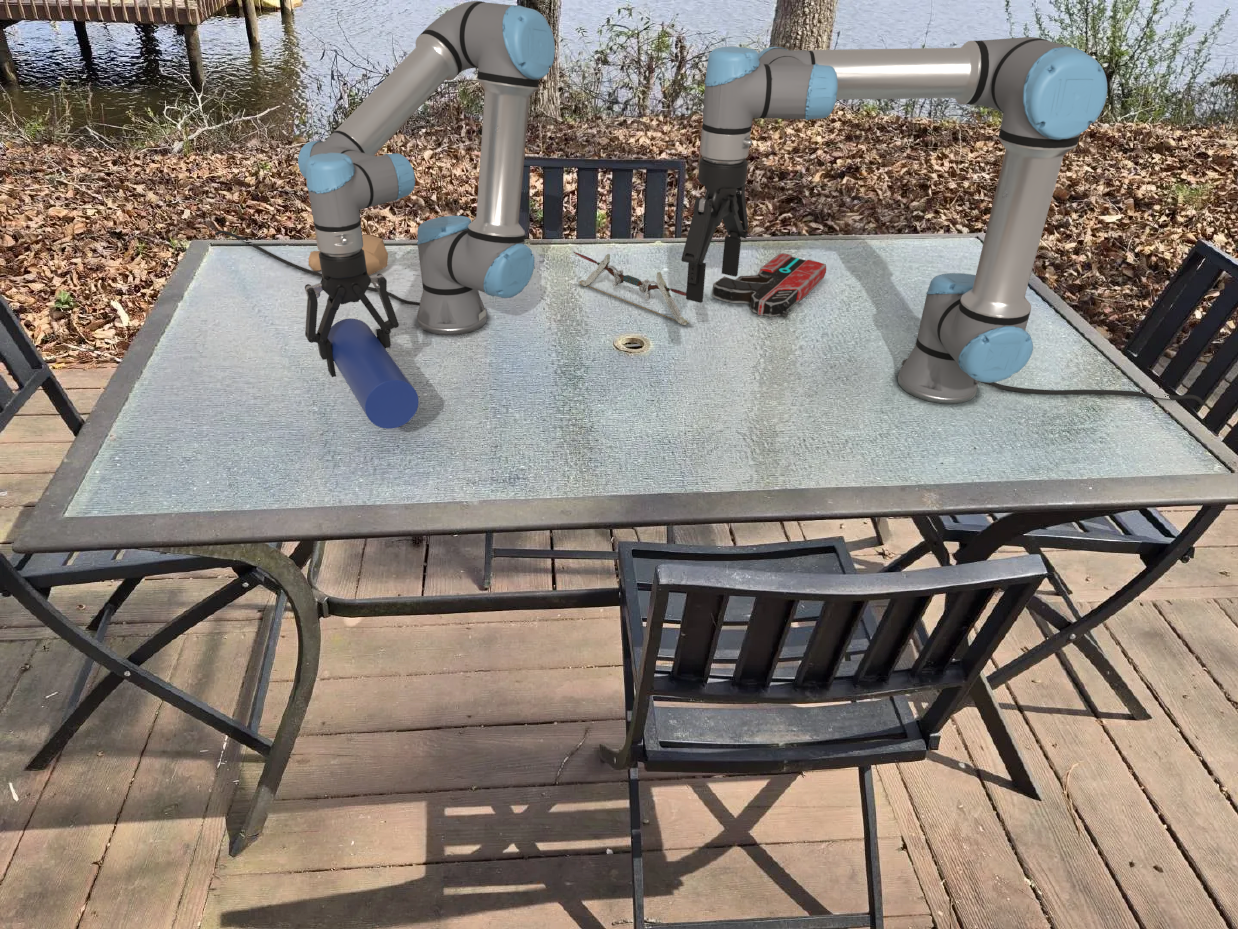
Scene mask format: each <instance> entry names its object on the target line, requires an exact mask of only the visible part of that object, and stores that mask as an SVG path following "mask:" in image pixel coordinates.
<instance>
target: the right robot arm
mask: <svg viewBox="0 0 1238 929" xmlns="http://www.w3.org/2000/svg"><path fill="white" fill-rule="evenodd" d="M1107 80H1108V79H1107V76H1106V73H1105V70H1104V68H1103V67H1102V65H1101V64H1100V63H1099V61H1098V60H1096V59H1095V58H1094V57H1093V56H1091V55H1089V54H1088V53H1086V52H1085V51H1083V50H1081V49H1079V48H1077V47H1071V46H1068V45H1064V44H1061V43H1057V42H1055V41H1050V40H1048V39H1046V38H1041V37H1034V36H1022V37H1010V38H997V39H981V40H980V39H979V40H967V41H965V43H964V44H963V45H961V47H924V48H923V47H921V48H915V47H914V48H861V49H860V48H857V49H856V48H855V49H854V48H853V49H851V48H850V49H849V48H848V49H807V50H806V49H789V50H788V49H786V48H785V47H781V46H769V47H766V48H765V49H762V50H761V51H759V52H758V51H757V50H756V49H754V48H751V47H750V48H749V47H741V46H740V47H739V46H720V47H716V48H714V49H713V50H712V51H710V53H709V54H708V57H707V66H706V73H705V80H704V91H703V92H704V93H703V94H704V95H703V108H702V109H703V110H702V126H701V135H700V147H699V154H700V155H701V158H699V161H698V177H697V180H698V182H699V184H700V185H702V186H704V187H705V194H704V197H695V199H694V206H693V214H692V218H691V221H690V224H689V228H688V232H687V236H686V239H685V240H686V241H685V243H684V248H683V251H682V255H681V262H683V263H688V265H687V277H686V296H685V300H687V301H691V302H695V303H699V304H702V303H703V302H704V292H705V280H706V268H707V263H706V262H704V261H705V258H706V256H707V253H708V250H709V248H710V245H711V242H712V240H713V237H714V235H715V232H716V230H717V227H720V226H721V224H722V222H723V224H724V227H725V229H726V233H727V235H726V236H725V237H724V242H723V255H722V264H721V274H722V275H726V276H731V277H735V278H736V277H738V274H739V263H740V257H741V256H740V255H741V244H742V239H747V238H748V234H749V232H748V229H749V219H748V210H747V203H746V201H747V200H746V184H747V183H746V182H747V175H748V167H749V166H748V165H749V162H748V160H747V158H748V157H749V154H750V153H749V152H750V147H751V146H752V145H753V139H751V134H752V126H753V122H754V120H753V119H781V120H783V119H785V120H805V121H809V120H819V119H821V120H822V119H826V118H828V117H830V115H831V114H832V112H833V111H834V109H835V106H836V102H837V101H843V100H845V101H848V100H849V101H853V100H911V99H912V100H915V99H917V100H918V99H919V100H920V99H923V100H925V99H954V100H955V101H956V103H957V104H959V105H962V106H963V105H964V106H966V105H967V106H968V105H974V106H981V107H986V108H990V109H993V110H995V111H998V112H1000V113H1003V115H1002V119H1001V124H1000V128H999V132H998V138H997V139H998V140H999V141H1000V143H1001V144H1002V146H1003V148H1004V155H1003V159H1002V163H1001V168H1000V172H999V175H998V180H997V184H996V188H995V193H994V197H993V201H992V205H991V210H990V213H989V217H988V221H987V226H986V231H985V235H984V239H983V242H982V248H981V252H980V256H979V260H978V264H977V269H976V273H975V274H971V273H961V272H951V273H950V272H949V273H947V272H946V273H941V274H938V275H936V276H934V277H933V278H932V279H931V281H930V282H929V286H928V289H927V291H926V292H925V295H926V296H925V301H924V306H923V309H922V314H921V318H920V323H919V328H918V332H917V336H916V341H915V345H914V346H913V348H912V350H911V351H910V353H909V355H908V357H907V358H906V359H903V360H902V362H901V367H900V369H899V372H898V376H897V383H898V385H899V387H901V389H902V390H904V391H905V392H906V393H907V394H909V395H911V396H913V397H915V398H918V399H921V400H923V401H926V402H927V401H928V402H931V403H935V404H942V405H943V404H945V405H954V404H963V403H966V402H969V401H971V400H972V399H974V397H975V396H976V395H977V391H978V387H979V384H983V385H987V386H990V387H993V388H995V389H996V388H997V389H999V390H1002V391H1003V390H1004V391H1008V392H1015V393H1022V394H1031V395H1033V394H1035V395H1050V396H1051V395H1052V396H1053V395H1054V396H1055V395H1056V396H1057V395H1059V396H1062V395H1063V396H1064V395H1065V396H1068V395H1069V396H1071V395H1109V396H1110V395H1112V396H1113V395H1115V396H1130V397H1142V398H1149V399H1150V398H1151V399H1156V398H1155V397H1154V396H1153V395H1151V394H1143V393H1140V392H1141V391H1138V390H1137V391H1135V390H1121V389H1120V390H1119V389H1039V388H1025V387H1016V386H1010V385H1005V384H1001V383H998V382H1001V381H1004V380H1007V379H1009V378H1011V377H1012V376H1014V374H1017V373H1019V372H1020V371H1021V370H1022V369H1023V368H1025V367H1026V366H1027V364H1028V362H1029V361H1030V359H1031V357H1032V354H1033V350H1034V343H1033V339H1032V337H1031V334H1030V333H1029V332H1028V331H1027V326H1028V322H1029V320H1030V315H1031V311H1032V304H1031V303H1030V302H1029V300H1028V299H1027V298H1026V293H1027V290H1028V286H1029V283H1030V279H1031V276H1032V271H1033V268H1034V265H1035V261H1036V257H1037V254H1038V250H1039V247H1040V243H1041V239H1042V235H1043V232H1044V229H1045V225H1046V221H1047V217H1048V214H1049V209H1050V206H1051V203H1052V200H1053V195H1054V192H1055V189H1056V184H1057V181H1058V178H1059V174H1060V170H1061V167H1062V163H1063V159H1064V156H1065V155H1066V154H1067V153H1069V152H1071V151H1072V150H1074V149H1075V148H1077V146H1078V144H1079V141H1080V137H1081V134H1083V133H1084V132H1086V131H1087V130H1088V128H1089V126H1090V125H1091V124H1095V122H1096V121H1097V119H1098V118H1099V117H1100V115H1101V114H1102V111H1103V109H1104V106H1105V104H1106V100H1107V97H1108V81H1107ZM1166 395H1167V396H1169V398H1170V399H1171V400H1170V401H1183V400H1193V401H1195V402H1196V403H1197V404H1199V405H1205V402H1204V400H1203V399H1202V398H1201V397H1199V396H1198V395H1195V394H1176V395H1174V394H1166ZM1165 397H1166V396H1165Z"/></svg>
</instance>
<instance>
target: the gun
mask: <svg viewBox="0 0 1238 929" xmlns="http://www.w3.org/2000/svg"><path fill="white" fill-rule="evenodd" d="M826 273H827V264H826V263H823V262H820V261H816V260H812V259H802V258H799V257H795V256H793V255H792V254H791V253H784V252H780V253H778V254H777V255H775V256H774V257H773V258H771V259H770V260H768V261H767V262H766V263H765V264H763V265H762V266H761V267H760V269H759V271H758V273H757V274H756V275H753V274H752V275H751V274H750V275H740V276H737V278H735V279H734V278H731V277H727V276H722V277H720V279H717V281H715V282H713V283H712V291H711V297H713V298H714V299H716V300H719V301H723V302H727V303H730V304H750V305H749V308H750V310H751V312H753V313H755V314H757V315H758V316H760V317H761V316H765V317H770V318H771V317H777V316H780V317H784V318H787V317H788V315H789V311H788V310H790V309H791V308H792V307H793V306H794V305H795V304H798V303H799V302H801V301H802V300H803V299H804V298H805V297H807V296H808V295H809V294H810V293H811V292H812V291H813V290H814V289H815V287H817V285H818V284H820V283H821V282H822V280H823V279H824V278H825V276H826Z"/></svg>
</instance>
